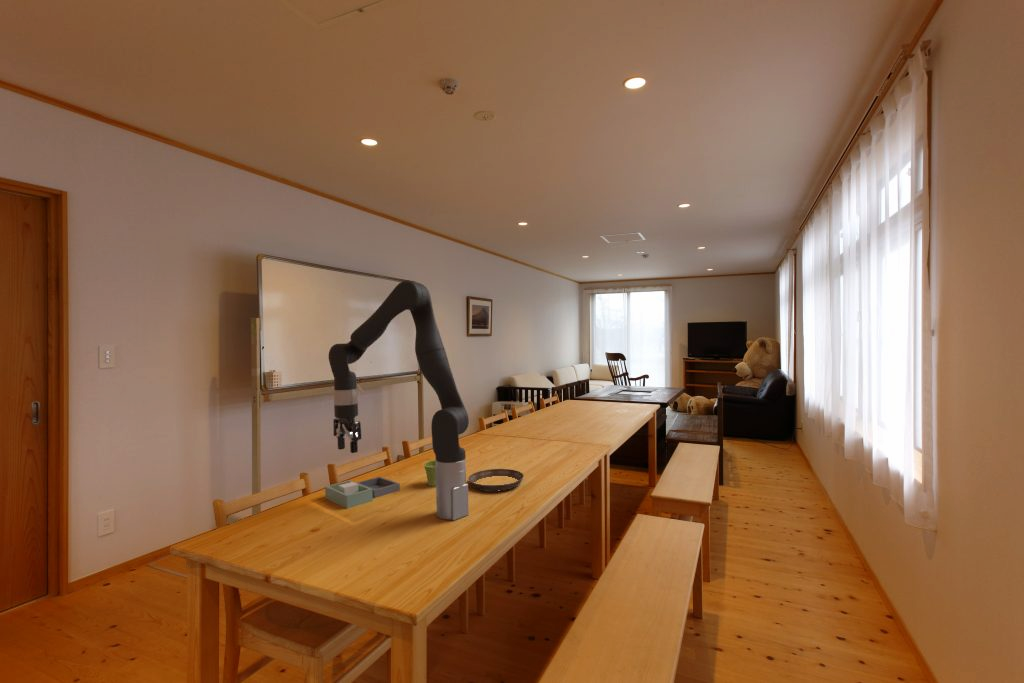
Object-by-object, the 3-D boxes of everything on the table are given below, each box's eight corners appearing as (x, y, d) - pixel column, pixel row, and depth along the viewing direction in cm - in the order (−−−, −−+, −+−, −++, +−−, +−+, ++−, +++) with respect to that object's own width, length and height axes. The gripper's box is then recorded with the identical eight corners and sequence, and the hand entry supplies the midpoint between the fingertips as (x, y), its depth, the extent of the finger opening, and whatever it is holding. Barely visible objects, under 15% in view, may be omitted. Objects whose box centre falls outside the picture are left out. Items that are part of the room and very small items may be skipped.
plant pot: (436, 492, 166) (435, 468, 166) (418, 487, 172) (418, 464, 172) (454, 485, 174) (454, 462, 174) (437, 481, 180) (436, 458, 179)
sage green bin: (372, 503, 156) (372, 488, 156) (347, 511, 150) (347, 496, 150) (349, 494, 166) (349, 480, 166) (325, 501, 160) (325, 486, 160)
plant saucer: (459, 491, 168) (459, 482, 168) (480, 474, 188) (480, 466, 188) (513, 496, 162) (513, 487, 162) (530, 478, 181) (530, 470, 181)
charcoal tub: (399, 493, 166) (399, 483, 166) (374, 500, 159) (374, 490, 159) (379, 485, 175) (379, 476, 175) (355, 492, 168) (354, 483, 168)
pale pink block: (358, 498, 158) (358, 484, 158) (344, 502, 155) (344, 487, 155) (352, 496, 161) (352, 481, 161) (338, 500, 157) (338, 485, 157)
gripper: (367, 402, 156) (368, 451, 156) (345, 400, 165) (347, 445, 165) (346, 405, 150) (347, 456, 150) (325, 402, 160) (326, 450, 160)
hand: (347, 450), depth 158 cm, fingers open, 8 cm apart
